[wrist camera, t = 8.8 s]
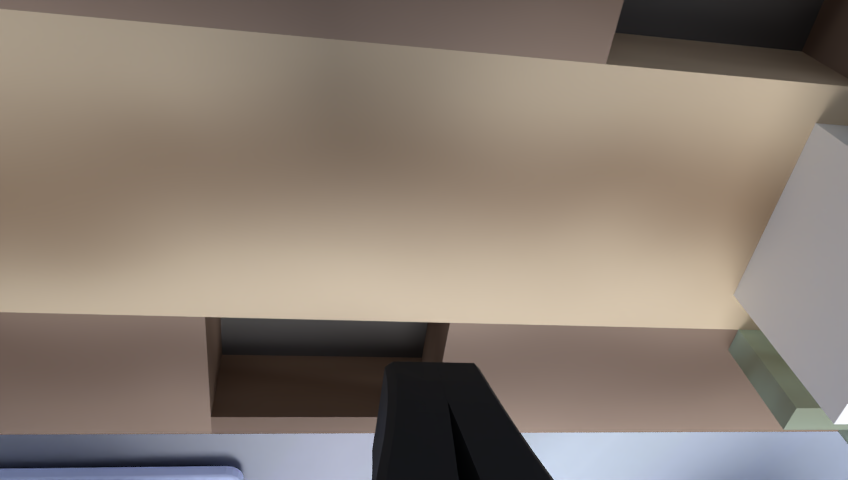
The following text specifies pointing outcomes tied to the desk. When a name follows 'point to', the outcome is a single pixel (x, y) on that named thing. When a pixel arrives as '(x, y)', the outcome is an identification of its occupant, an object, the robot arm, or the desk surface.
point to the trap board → (399, 208)
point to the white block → (808, 272)
